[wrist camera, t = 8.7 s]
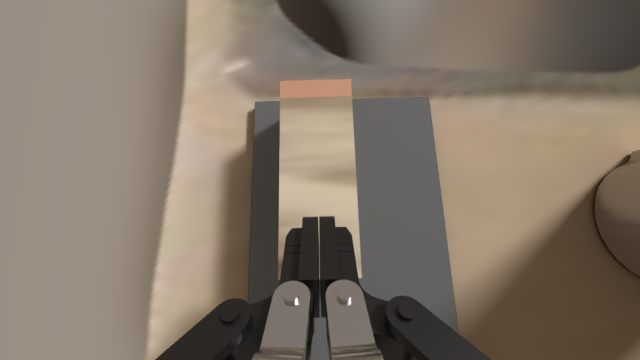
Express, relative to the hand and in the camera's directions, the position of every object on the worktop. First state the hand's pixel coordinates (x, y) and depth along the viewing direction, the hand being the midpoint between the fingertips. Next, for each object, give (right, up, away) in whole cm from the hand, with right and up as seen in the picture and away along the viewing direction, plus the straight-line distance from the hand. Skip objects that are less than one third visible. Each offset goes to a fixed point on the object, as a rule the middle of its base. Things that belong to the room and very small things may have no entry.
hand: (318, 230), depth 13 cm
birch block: (0, -3, +4) cm, 5 cm away
